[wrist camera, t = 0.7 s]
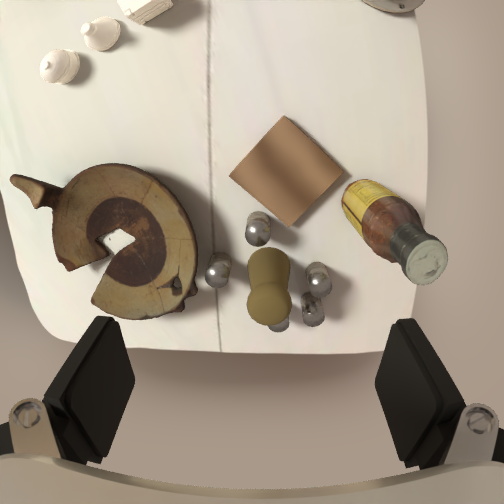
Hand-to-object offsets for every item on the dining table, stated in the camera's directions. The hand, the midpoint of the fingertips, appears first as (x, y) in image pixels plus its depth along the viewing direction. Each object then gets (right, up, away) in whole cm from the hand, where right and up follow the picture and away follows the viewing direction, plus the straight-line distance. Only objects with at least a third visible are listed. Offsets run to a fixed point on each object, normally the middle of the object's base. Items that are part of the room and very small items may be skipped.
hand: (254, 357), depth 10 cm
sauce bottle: (+14, +11, +30) cm, 35 cm away
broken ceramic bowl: (-19, +8, +33) cm, 39 cm away
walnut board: (+4, +14, +29) cm, 32 cm away
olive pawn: (+2, +2, +35) cm, 35 cm away
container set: (-20, +33, +22) cm, 44 cm away
